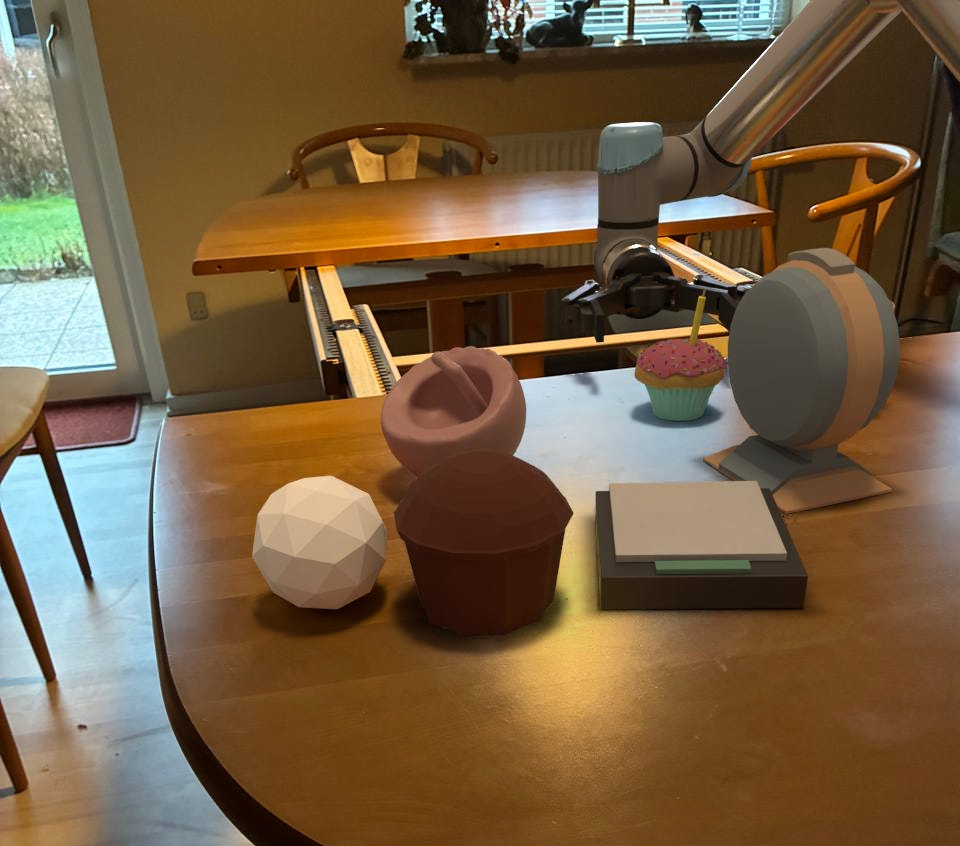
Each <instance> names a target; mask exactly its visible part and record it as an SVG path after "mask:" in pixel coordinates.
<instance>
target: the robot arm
mask: <svg viewBox="0 0 960 846" xmlns="http://www.w3.org/2000/svg"><path fill="white" fill-rule="evenodd" d="M901 12H902V13H903V14H904V15H905V16H906V18H907V19H908V20H909V21H910V23H911V24H912V26H914V27H915V29H916V30H917V31H918V33H919V34H920V35H921V37H922V38H923V39H924V41H926V42H927V44H928V45H929V46H930V47H931V49H932V50H933V51H934V52H935V54H936V55H937V56H938V57H939V59H940V60H941V61H942V63H943V64H944V65H945V66H946V67H947V69H948V70H949V71H950V72H951V74H952V75H953V76H954V77H955V79H956V80H957V81H958V82H959V83H960V0H810V1H808V3H807V4H806V5H805V6H804V7H803V8H802V9H801V11H799V13H798V14H797V15H796V16H795V17H794V18H793V20H792V21H790V23H789V24H788V25H787V26H786V27H785V28H784V29H783V31H782V32H781V33H780V34H779V35H778V36H777V37H776V38H775V39H774V41H772V42H771V44H769V46H768V47H767V49H765V51H764V52H763V53H762V54H761V55H760V56H759V57H758V58H757V59H756V60H755V62H754V63H753V64H752V65H751V66H750V67H749V69H748V70H746V71H745V73H744V74H742V76H741V77H740V78H739V80H738V81H737V82H736V83H735V84H734V85H733V87H731V88H730V90H729V91H728V92H727V93H726V94H725V95H724V96H723V97H722V99H721V100H720V101H719V102H718V103H717V104H716V105H715V106H714V107H713V109H712V110H711V111H710V112H709V113H708V114H707V115H706V116H705V117H704V118H703V119H702V121H700V123H699V124H697V125H696V127H695V128H693V130H692V131H690V132H689V133H686V134H685V133H684V134H680V135H671V136H664V135H663V128H662V125H660V124H659V123H657V122H647V121H641V122H639V121H638V122H637V121H636V122H622V123H614V124H613V123H612V124H609V125H607V126H605V127H604V128H603V129H602V131H601V133H600V135H599V142H598V143H599V145H598V152H597V153H598V156H597V162H596V169H597V193H598V194H597V208H598V209H597V225H596V245H595V247H594V251H593V269H594V271H595V273H596V277H597V278H598V280H599V281H600V283H599V282H596V281H595V280H594V279H587V280H585V281H584V285H582V286H581V287H579V288H577V289H575V290H574V291H572V292H571V293H569V294H568V295H565V296H564V297H563V298H561V299H560V323H561V324H562V325H566V326H567V325H570V324H573V323H574V322H576V321H577V322H578V327H577V328H578V332H580V333H587V332H589V329H590V331H591V333H592V335H593V337H594V340H595V343H599V344H600V343H605V318H608V317H610V316H613V315H620V316H625V317H627V318H629V319H633V320H645V319H650V318H652V317H654V316H656V315H658V314H659V313H661V312H662V311H667V312H673V313H679V312H682V311H685V310H687V311H692V312H696V307H697V303H698V298H699V296H702V294H703V290H704V289H705V288H707V289H706V291H705V295H704V297H706V300H705V304H704V309H703V314H708V315H713V316H717V317H718V318H717V321H719V322H720V323H721V325H722V326H723V327H724V328H725V329H726V330H727V332H728V333H730V326H731V323H732V320H733V317H734V314H735V311H736V308H737V306H738V304H739V303H740V301H741V299H742V298H743V296H744V294H745V293H746V292H747V291H748V290H749V289H750V288H747V287H743V286H739V285H738V284H736V283H735V284H731V283H729V282H728V283H727V282H725V281H720V280H717V279H714V278H713V279H712V278H710V277H708V276H706V274H705V275H704V274H702V273H699V274H696V275H694V278H693V279H692V282H689V281H688V279H687V278H685V277H678V276H675V274H674V270H673V269H672V266H671V265H670V264H669V262H668V260H666V258H665V257H664V256H663V254H662V253H661V252H659V250H658V240H659V239H658V238H659V223H660V207H661V206H662V205H666V204H671V203H678V202H683V201H690V200H696V199H701V198H713V197H718V196H722V195H723V194H725V193H727V192H733V191H734V190H736V189H738V188H739V187H740V186H741V185H742V184H743V183H744V182H745V181H746V179H747V177H748V174H749V170H750V169H751V168H752V163H753V157H754V156H755V155H756V154H757V153H758V152H759V151H760V150H761V149H762V148H763V147H765V145H767V143H768V142H770V140H772V139H773V138H774V137H775V135H777V134H778V133H779V131H780V130H782V128H784V127H785V126H786V125H787V124H788V123H789V122H790V121H791V120H792V119H793V118H794V117H795V116H796V115H797V114H798V113H799V112H800V111H801V110H802V109H803V108H804V107H805V106H806V105H807V104H808V103H810V101H811V100H812V99H813V98H814V97H815V96H816V95H817V94H818V93H819V92H820V91H822V89H823V88H824V87H826V85H827V84H828V83H830V81H831V80H833V78H834V77H835V76H837V75H838V73H840V72H841V71H842V70H843V69H844V68H845V67H846V66H847V65H848V64H849V63H850V62H851V61H852V60H853V59H854V58H855V57H856V56H857V55H858V54H859V53H860V52H861V51H862V50H863V49H864V48H865V47H866V46H867V45H868V44H869V43H870V42H871V41H873V39H874V38H876V36H878V35H879V33H880V32H881V31H882V30H884V29H885V28H886V26H887V25H889V24H890V23H891V22H892V21H893V20H894V19H895V18H896V17H897V16H898V15H899V14H900V13H901ZM601 285H602V286H601Z"/></svg>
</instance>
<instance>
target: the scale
mask: <svg viewBox="0 0 960 846" xmlns="http://www.w3.org/2000/svg"><path fill="white" fill-rule="evenodd" d="M594 516H595V518H594V519H595V532H596V533H595V534H596V535H595V536H596V553H597V572H598V589H599V605H600V606H599V607H600V610H685V609H686V610H689V609H690V610H699V609H700V610H701V609H703V610H704V609H705V610H707V609H710V610H711V609H716V610H717V609H723V610H725V609H804V607H805V600H806V593H807V587H808V586H807V585H808V579H809V574H808V572H807V570H806V568H805V566H804V564H803V561H802V558H801V557H800V554H799V552H798V550H797V548H796V545H795V543H794V540H793V539H792V536H791V534H790V531H789V529H788V527H787V525H786V522H785V520H784V518H783V516H782V514H781V511H780V510H779V509H778V506H777V504H776V502H775V500H774V497H773V495H772V493H771V490H770V488H760V487H759V485H758V483H757V481H734V480H725V481H718V480H717V481H669V482H668V481H667V482H665V481H663V482H660V481H659V482H610V483H608V490H596V491H595V515H594Z"/></svg>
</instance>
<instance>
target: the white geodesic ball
mask: <svg viewBox="0 0 960 846" xmlns="http://www.w3.org/2000/svg"><path fill="white" fill-rule="evenodd" d="M255 523H256V524H255V531H254V538H253V545H252V553H251V558H252V560H253V561H254V563H255V565H256V566H257V568H258V570H259V572H260V573H261V575H262V577H263V578H264V580H265V581H266V582H265V583H266V584H267V585H268V586H269V588H270V591H271V592H272V593H273V594H275V595H277V596H279V597H281V598H282V599H284V600H286V601H287V602H289V603H291V604H293V605H294V606H296V607H298V608H307V609H308V608H309V609H326V610H339V609H341V608H342V607H345V606H346V605H348V604H350V603H352V602H354V601H355V600H358V599H359V598H361V597H363V596H366V595H367V594H369V593H370V592H371V591H372V589H373V587H374V585H375V583H376V581H377V579H378V577H379V575H380V573H381V571H382V569H383V567H384V565H385V563H386V561H387V548H388V547H387V545H388V543H387V542H388V528H387V527H386V525H385V522H384V520H383V519H382V517H381V515H380V513H379V511H378V509H377V507H376V505H375V503H374V501H373V499H372V497H371V495H370V493H368V492H366V491H363V490H361V489H360V488H358V487H356V486H354V485H351V484H349V483H347V482H345V481H343V480H341V479H339V478H337V477H335V476H333V475H323V476H313V477H303V478H300V479H298V480H297V479H296V480H295V481H292V482H291V481H290V482H288V483H286V484H285V485H284V486H282V487H280V488H278V489H277V490H275V491H274V492H272V493H271V494H270V495H269V497H268V499H267V500H266V501H265V503H264V504H263V505H262V507H261V508H260V510H259V512H258V513H257V516H256V522H255Z"/></svg>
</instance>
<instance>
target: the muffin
mask: <svg viewBox="0 0 960 846" xmlns="http://www.w3.org/2000/svg"><path fill="white" fill-rule="evenodd" d="M574 514H575V512H574V511H573V509H572V506H571V505H570V503H569V501H568V500H567V498H566V496H565V495H563V493H562V492H561V490H560V489H559V488H558V487H557V486H556V485H555V482H553V480H552V479H551V478H550V477H549V476H548V475H547V473H545V472H544V471H543V470H541V469H540V468H538V467H536V466H535V465H533V464H531V463H529V462H528V461H525V460H523V459H522V458H519V457H517V456H515V455H511V454H508V453H503V452H498V451H492V450H472V451H466V452H461V453H455V454H453V455H451V456H448V457H446V458H444V459H441V460H440V461H438V462H436V463H434V464H432V465H431V466H429V467H428V468H426V469H425V470H424V471H423V472H422V473H421V474H420V475H419V476H418V477H416V478H415V479H414V481H413V482H412V483H411V484H410V486H409V487H408V488H407V490H406V491H405V492H404V494H403V496H402V498H401V500H400V501H399V503H398V505H397V507H396V508H395V510H394V511H393V517H394V525H395V530H396V532H397V534H398V536H399V538H400V539H401V540H402V541H403V542H404V546H405V548H406V552H407V556H408V559H409V563H410V567H411V571H412V574H413V578H414V582H415V586H416V589H417V592H418V598H419V600H420V604H421V605H422V607H423V609H424V610H425V612H426V614H427V618H428V623H429V624H431V625H435V626H437V627H440V628H445V629H447V630H449V631H451V632H453V633H456V634H457V635H460V636H461V637H462V636H480V635H488V636H489V635H492V636H494V635H495V636H507V635H508V634H511V633H513V632H515V631H517V630H519V629H521V628H524V627H528V626H531V625H534V624H537V623H541V621H542V619H543V617H544V615H545V613H546V611H547V610H548V608H550V606H551V605H552V604H553V603H554V601H555V596H556V595H555V593H556V590H557V589H556V588H557V583H558V577H559V570H560V565H561V558H562V553H563V552H562V551H563V546H564V539H565V534H566V529H567V527H568V525H569V524H570V522H571V520H572V518H573V516H574Z"/></svg>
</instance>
